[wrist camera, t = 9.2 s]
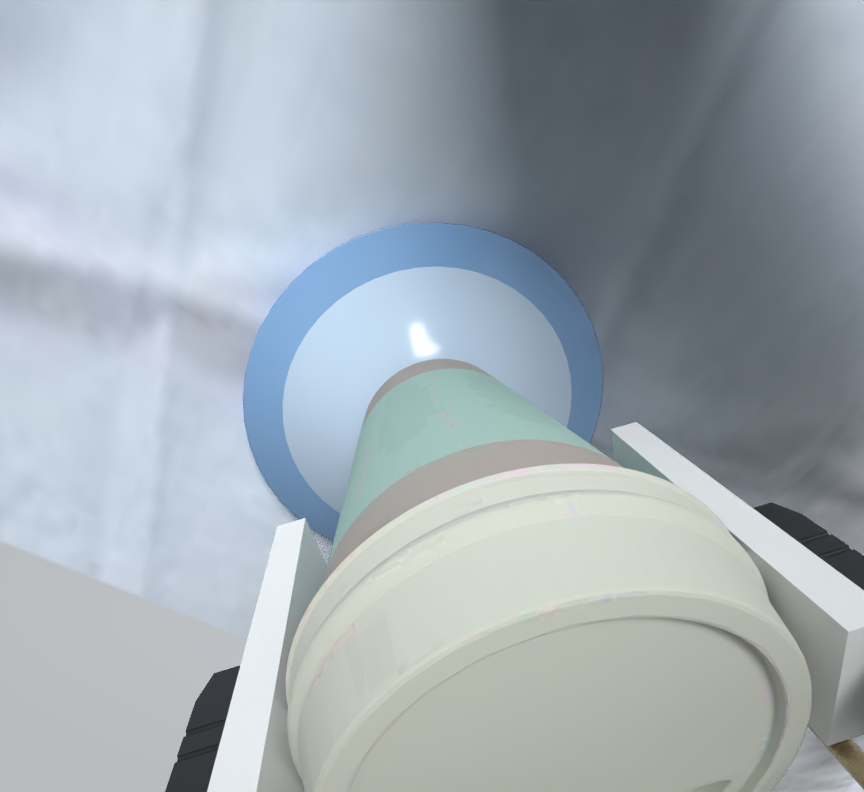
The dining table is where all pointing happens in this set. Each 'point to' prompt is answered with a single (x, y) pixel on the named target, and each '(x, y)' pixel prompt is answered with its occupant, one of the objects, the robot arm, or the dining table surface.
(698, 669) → the coffee cup
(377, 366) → the dish
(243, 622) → the dining table surface
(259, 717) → the robot arm
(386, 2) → the dining table surface
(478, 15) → the dining table surface
